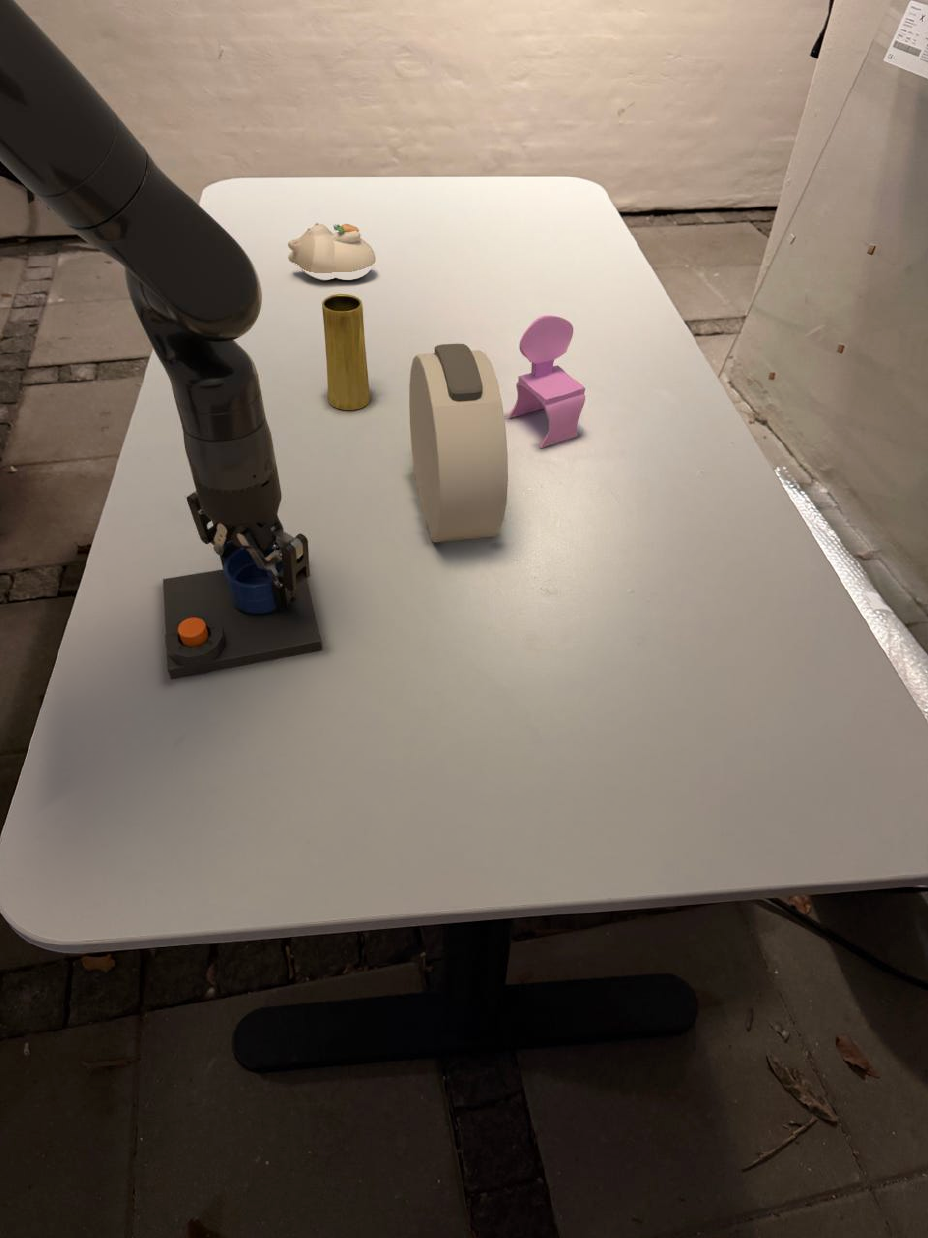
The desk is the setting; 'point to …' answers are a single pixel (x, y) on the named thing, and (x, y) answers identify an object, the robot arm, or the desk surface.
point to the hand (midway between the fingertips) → (261, 590)
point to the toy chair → (549, 379)
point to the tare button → (193, 632)
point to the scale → (232, 626)
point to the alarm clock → (458, 442)
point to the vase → (345, 352)
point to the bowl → (249, 582)
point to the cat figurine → (331, 250)
